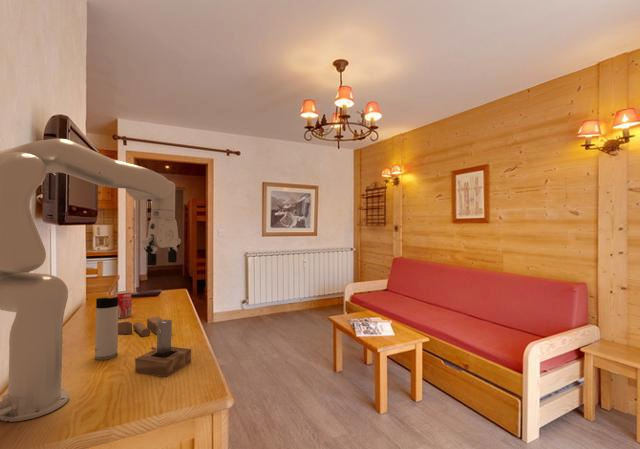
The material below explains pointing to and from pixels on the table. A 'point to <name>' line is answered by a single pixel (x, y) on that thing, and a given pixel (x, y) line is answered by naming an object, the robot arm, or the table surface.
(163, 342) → the round metal rod
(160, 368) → the brown hollow tray
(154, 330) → the wooden block set
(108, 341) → the travel mug
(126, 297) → the soda can
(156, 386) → the table surface
